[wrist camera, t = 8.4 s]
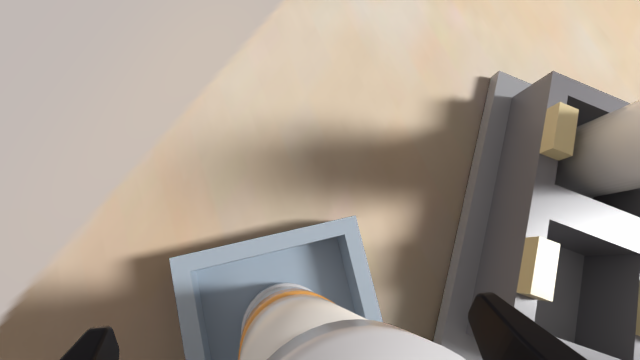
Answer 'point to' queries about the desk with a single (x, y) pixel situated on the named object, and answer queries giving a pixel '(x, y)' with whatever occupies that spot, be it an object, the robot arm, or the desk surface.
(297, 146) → the desk surface
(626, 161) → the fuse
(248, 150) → the desk surface
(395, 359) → the white round-topped piece
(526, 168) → the block
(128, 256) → the desk surface
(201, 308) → the tray
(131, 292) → the desk surface
